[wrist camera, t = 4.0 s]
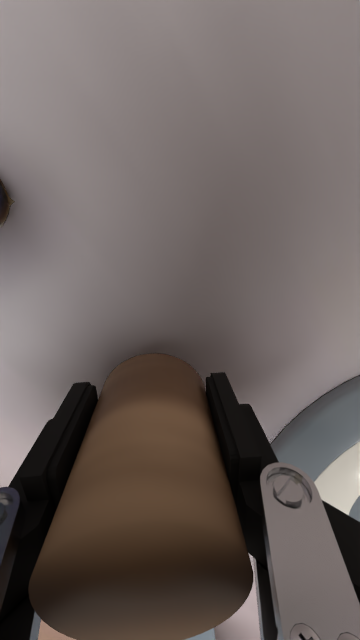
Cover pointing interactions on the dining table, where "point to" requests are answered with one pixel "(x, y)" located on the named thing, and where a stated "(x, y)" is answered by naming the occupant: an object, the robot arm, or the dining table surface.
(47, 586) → the brown rounded cylinder
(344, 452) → the plate
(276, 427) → the dining table surface
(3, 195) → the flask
